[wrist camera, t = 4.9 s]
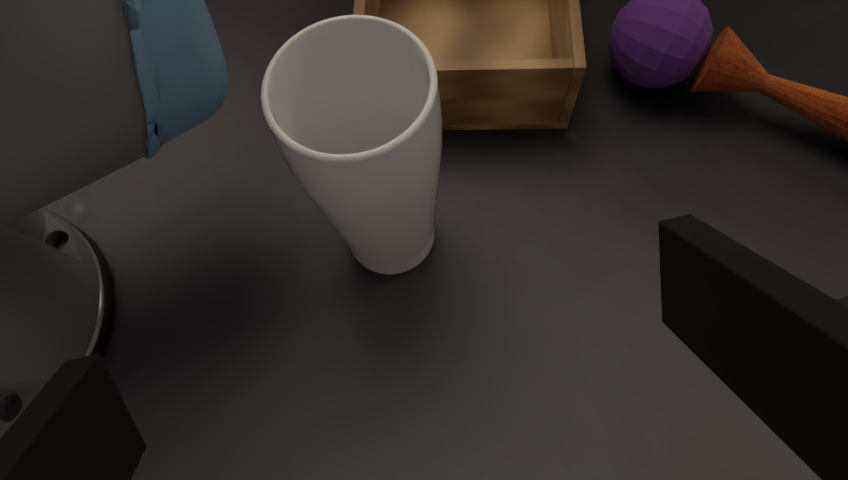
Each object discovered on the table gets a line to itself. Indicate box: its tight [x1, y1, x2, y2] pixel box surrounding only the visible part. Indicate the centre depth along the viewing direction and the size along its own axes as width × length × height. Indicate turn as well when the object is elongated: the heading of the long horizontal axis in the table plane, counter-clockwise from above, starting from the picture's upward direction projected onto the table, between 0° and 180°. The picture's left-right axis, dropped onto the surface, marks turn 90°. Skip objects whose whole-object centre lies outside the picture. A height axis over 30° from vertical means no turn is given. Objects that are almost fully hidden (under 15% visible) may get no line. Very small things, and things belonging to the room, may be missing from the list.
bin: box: [353, 0, 587, 130], centre depth 37 cm, size 13×13×6 cm
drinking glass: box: [261, 15, 442, 275], centre depth 28 cm, size 7×7×15 cm
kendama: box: [609, 0, 848, 142], centre depth 34 cm, size 6×6×20 cm
